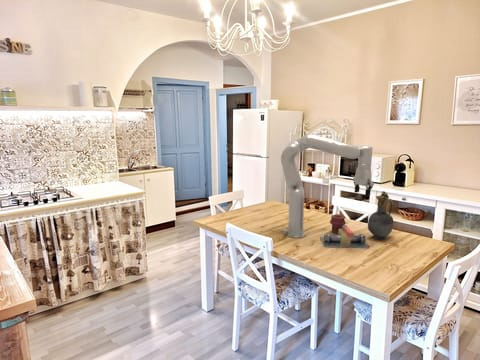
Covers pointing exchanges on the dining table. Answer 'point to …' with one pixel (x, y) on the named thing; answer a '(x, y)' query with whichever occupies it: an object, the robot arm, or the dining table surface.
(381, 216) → the pitcher
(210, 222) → the dining table surface
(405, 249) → the dining table surface
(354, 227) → the dining table surface
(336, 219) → the mechanical component
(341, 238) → the valve body
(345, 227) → the lever
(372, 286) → the dining table surface
